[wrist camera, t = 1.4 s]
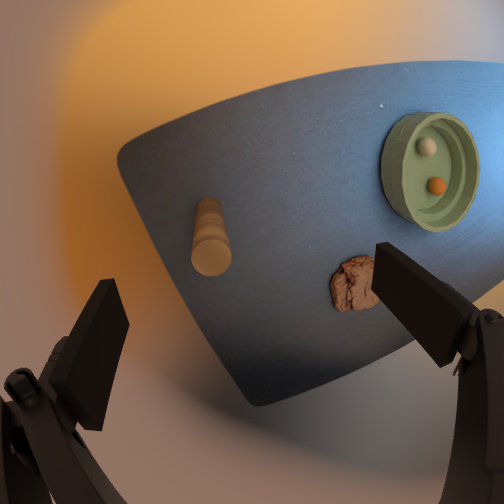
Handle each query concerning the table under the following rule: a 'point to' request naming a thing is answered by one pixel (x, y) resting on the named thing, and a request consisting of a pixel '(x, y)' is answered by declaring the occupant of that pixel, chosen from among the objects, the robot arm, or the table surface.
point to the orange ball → (437, 186)
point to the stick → (210, 239)
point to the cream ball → (427, 146)
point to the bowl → (430, 170)
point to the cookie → (354, 285)
